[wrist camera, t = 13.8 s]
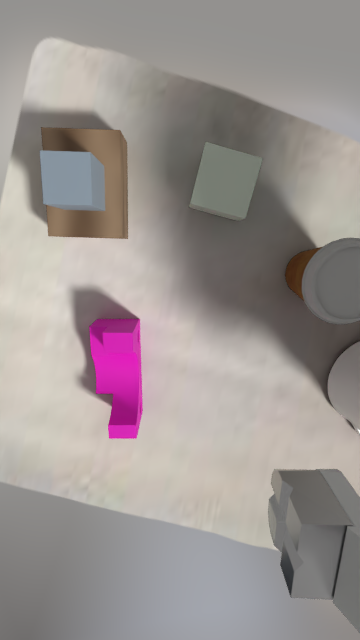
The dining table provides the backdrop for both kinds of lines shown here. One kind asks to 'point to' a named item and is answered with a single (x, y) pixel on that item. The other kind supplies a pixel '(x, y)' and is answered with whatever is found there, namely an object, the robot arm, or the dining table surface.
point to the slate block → (72, 180)
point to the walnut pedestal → (114, 158)
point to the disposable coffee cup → (329, 280)
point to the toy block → (119, 372)
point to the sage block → (225, 182)
